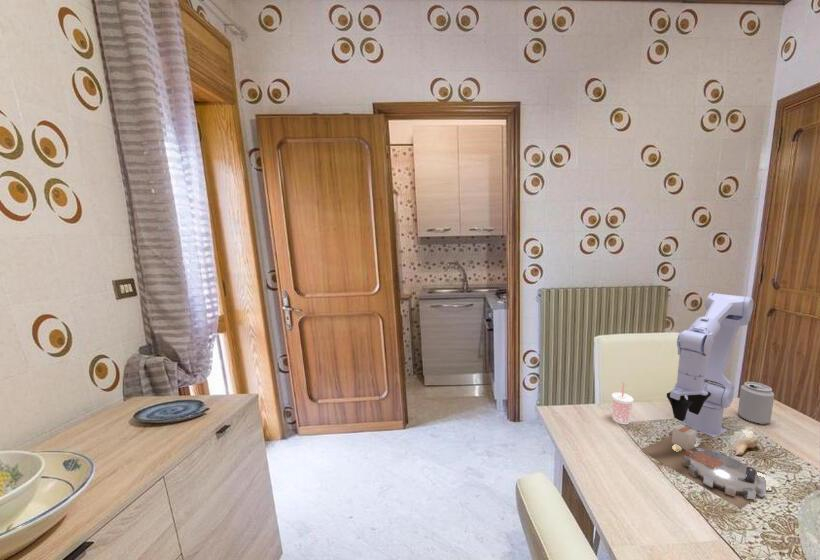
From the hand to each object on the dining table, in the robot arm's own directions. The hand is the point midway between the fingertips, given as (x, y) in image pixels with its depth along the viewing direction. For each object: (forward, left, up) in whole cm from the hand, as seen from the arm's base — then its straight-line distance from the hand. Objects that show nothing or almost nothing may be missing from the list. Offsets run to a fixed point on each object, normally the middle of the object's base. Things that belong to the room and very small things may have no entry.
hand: (686, 416), depth 93 cm
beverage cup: (-16, -4, -10) cm, 19 cm away
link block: (0, 0, -9) cm, 9 cm away
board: (+7, -4, -10) cm, 13 cm away
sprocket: (+11, -5, -10) cm, 16 cm away
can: (+2, +36, -10) cm, 37 cm away
